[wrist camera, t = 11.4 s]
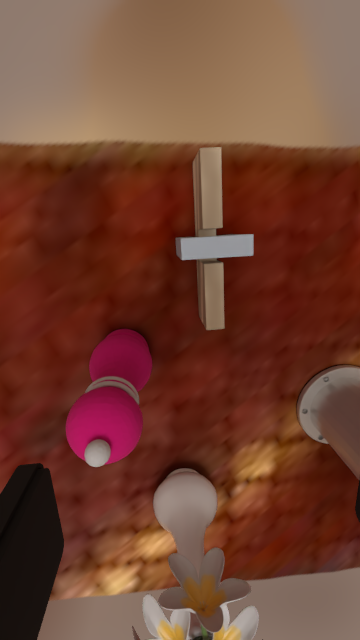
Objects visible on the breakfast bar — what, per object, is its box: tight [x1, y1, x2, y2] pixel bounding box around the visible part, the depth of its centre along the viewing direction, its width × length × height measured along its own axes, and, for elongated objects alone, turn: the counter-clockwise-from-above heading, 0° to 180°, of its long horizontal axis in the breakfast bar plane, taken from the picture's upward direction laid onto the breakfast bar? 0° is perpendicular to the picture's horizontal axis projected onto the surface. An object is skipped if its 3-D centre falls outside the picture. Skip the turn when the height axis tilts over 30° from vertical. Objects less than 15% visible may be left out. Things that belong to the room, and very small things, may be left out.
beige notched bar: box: [193, 147, 224, 330], centre depth 33 cm, size 2×18×6 cm, turn 3°
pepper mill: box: [66, 329, 152, 467], centre depth 30 cm, size 7×7×20 cm
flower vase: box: [132, 468, 259, 640], centre depth 34 cm, size 13×18×25 cm
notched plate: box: [176, 234, 253, 260], centre depth 32 cm, size 2×7×8 cm, turn 93°
